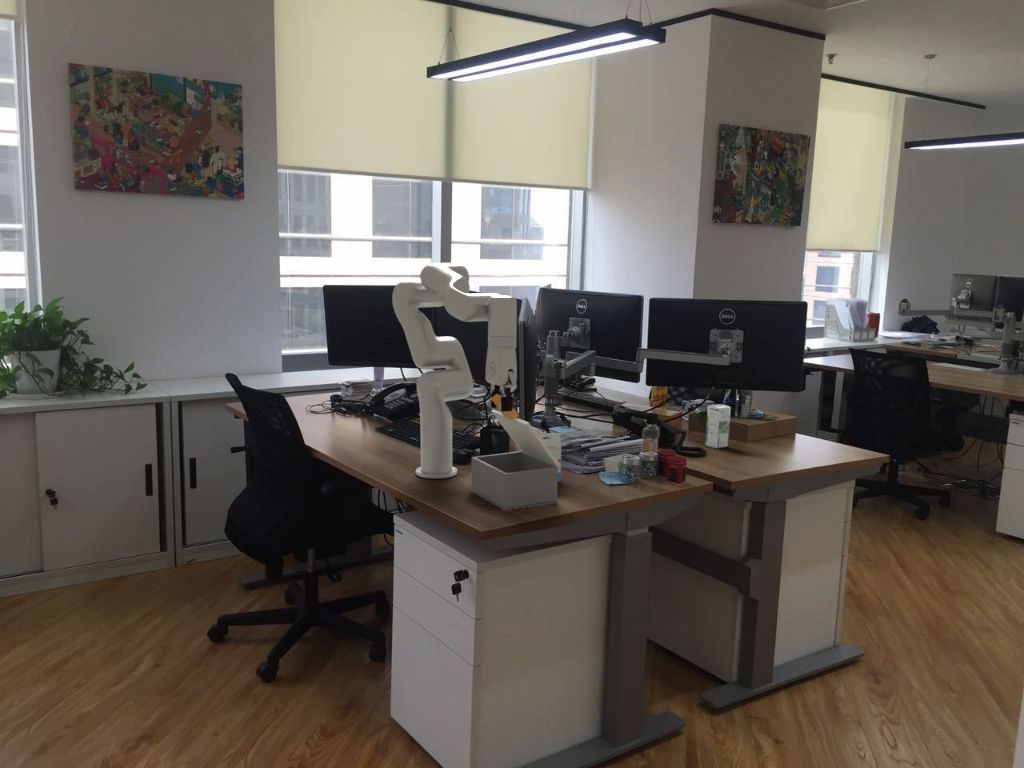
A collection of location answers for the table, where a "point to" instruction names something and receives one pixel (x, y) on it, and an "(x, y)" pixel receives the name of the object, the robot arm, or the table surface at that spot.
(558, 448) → the ink box
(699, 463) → the table surface
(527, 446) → the lid flap
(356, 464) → the table surface
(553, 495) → the carton
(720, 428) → the syrup box
